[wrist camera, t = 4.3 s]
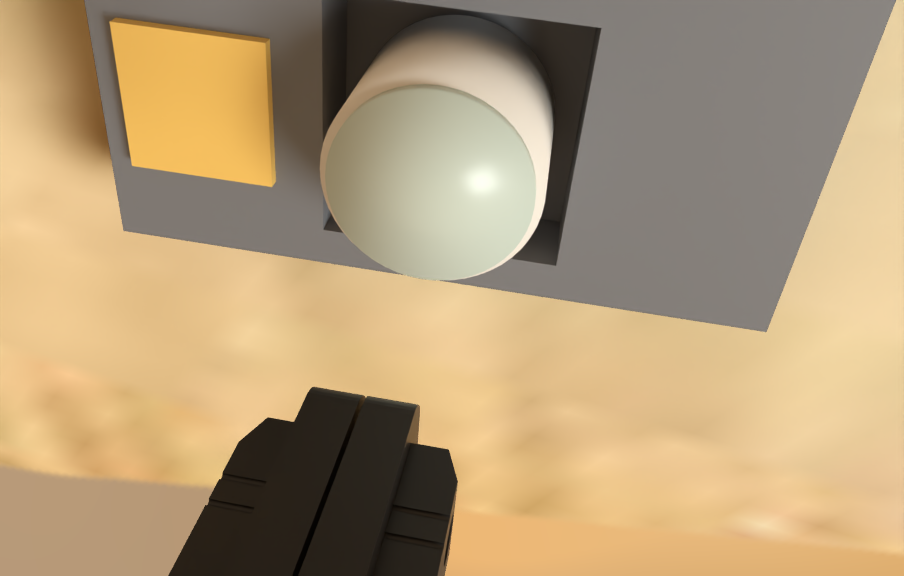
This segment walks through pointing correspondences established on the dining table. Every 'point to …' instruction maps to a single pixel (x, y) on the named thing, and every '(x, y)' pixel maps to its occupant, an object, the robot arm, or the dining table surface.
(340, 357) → the dining table surface
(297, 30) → the button board
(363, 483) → the robot arm
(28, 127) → the dining table surface
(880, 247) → the dining table surface
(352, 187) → the button
